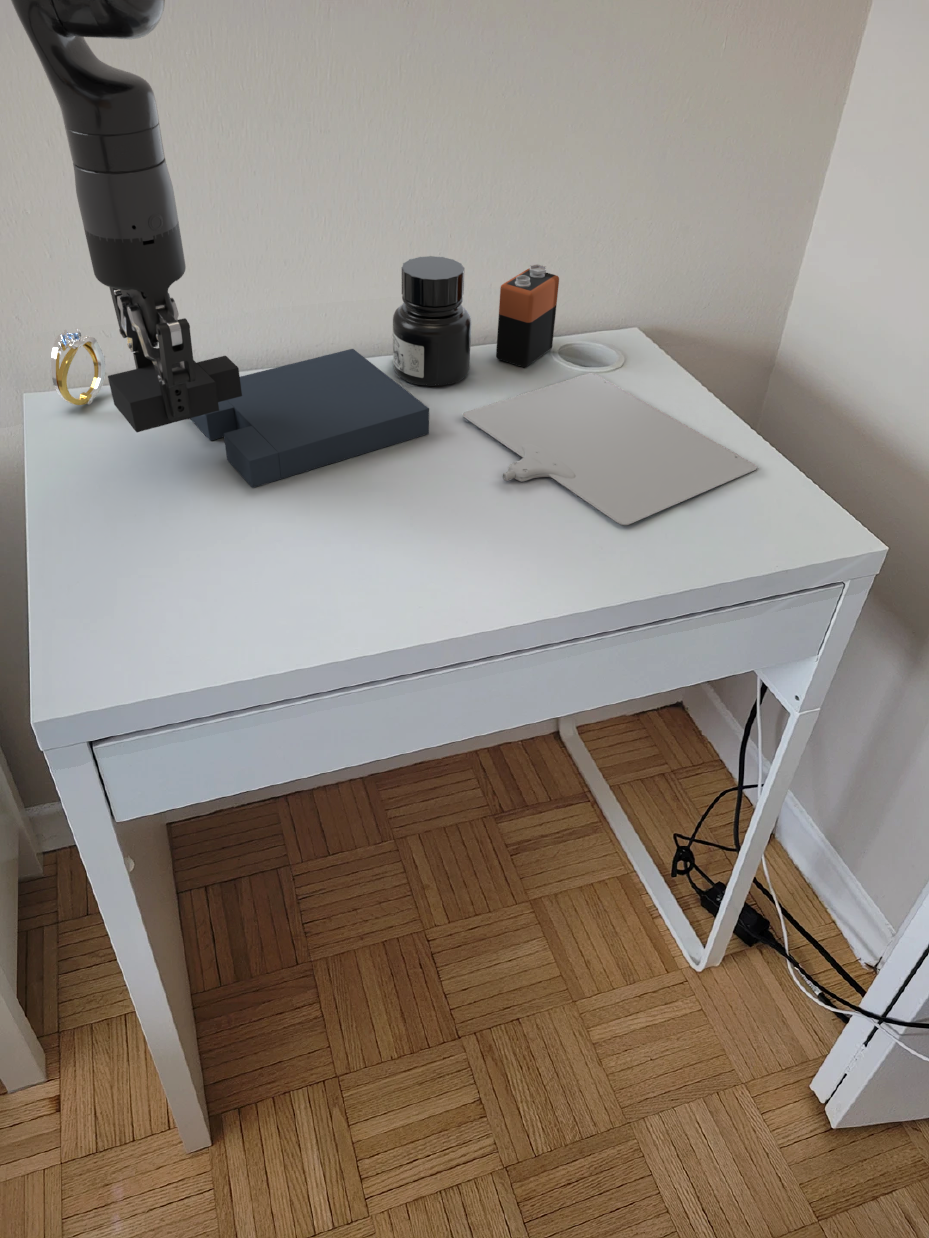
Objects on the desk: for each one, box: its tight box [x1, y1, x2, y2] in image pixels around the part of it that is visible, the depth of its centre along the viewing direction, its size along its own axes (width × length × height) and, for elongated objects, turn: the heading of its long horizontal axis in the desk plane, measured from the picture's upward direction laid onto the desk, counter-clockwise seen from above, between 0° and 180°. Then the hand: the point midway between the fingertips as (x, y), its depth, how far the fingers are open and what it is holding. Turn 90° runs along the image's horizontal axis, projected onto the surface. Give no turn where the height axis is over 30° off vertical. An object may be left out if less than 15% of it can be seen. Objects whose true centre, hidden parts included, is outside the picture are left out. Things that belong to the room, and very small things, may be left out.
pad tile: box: [107, 355, 242, 433], centre depth 89 cm, size 11×6×3 cm, turn 124°
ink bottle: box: [392, 255, 472, 387], centre depth 106 cm, size 10×9×12 cm
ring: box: [50, 327, 106, 406], centre depth 99 cm, size 7×3×8 cm, turn 156°
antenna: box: [462, 372, 758, 526], centre depth 98 cm, size 25×24×1 cm
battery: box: [495, 263, 560, 368], centre depth 111 cm, size 4×7×10 cm, turn 147°
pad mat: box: [189, 348, 430, 489], centre depth 99 cm, size 20×16×3 cm
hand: (165, 402), depth 89 cm, fingers closed on pad tile, 6 cm apart
